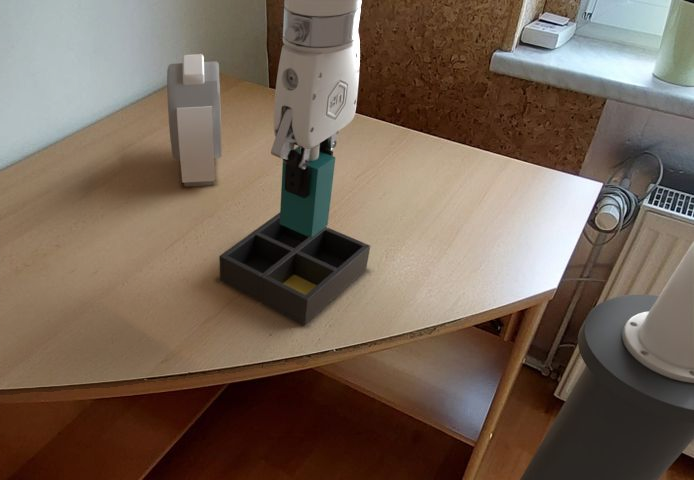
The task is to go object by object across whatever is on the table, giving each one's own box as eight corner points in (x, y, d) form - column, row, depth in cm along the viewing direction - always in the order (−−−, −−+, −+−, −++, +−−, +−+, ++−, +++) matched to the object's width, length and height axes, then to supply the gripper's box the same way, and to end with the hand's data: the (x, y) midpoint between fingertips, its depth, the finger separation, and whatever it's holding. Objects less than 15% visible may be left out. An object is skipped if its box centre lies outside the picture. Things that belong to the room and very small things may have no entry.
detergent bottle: (327, 225, 79) (337, 143, 71) (311, 238, 77) (319, 155, 69) (296, 212, 82) (301, 131, 74) (279, 224, 80) (283, 142, 72)
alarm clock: (223, 195, 108) (220, 79, 94) (174, 198, 109) (164, 82, 94) (220, 146, 121) (217, 37, 107) (177, 148, 121) (168, 40, 107)
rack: (366, 270, 92) (370, 245, 88) (304, 325, 84) (307, 300, 81) (282, 233, 100) (284, 208, 96) (220, 280, 92) (219, 255, 89)
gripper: (302, 59, 56) (291, 227, 69) (396, 8, 64) (370, 167, 78) (239, 42, 60) (239, 205, 73) (335, -4, 68) (321, 150, 81)
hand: (307, 184), depth 75 cm, fingers closed on detergent bottle, 3 cm apart
